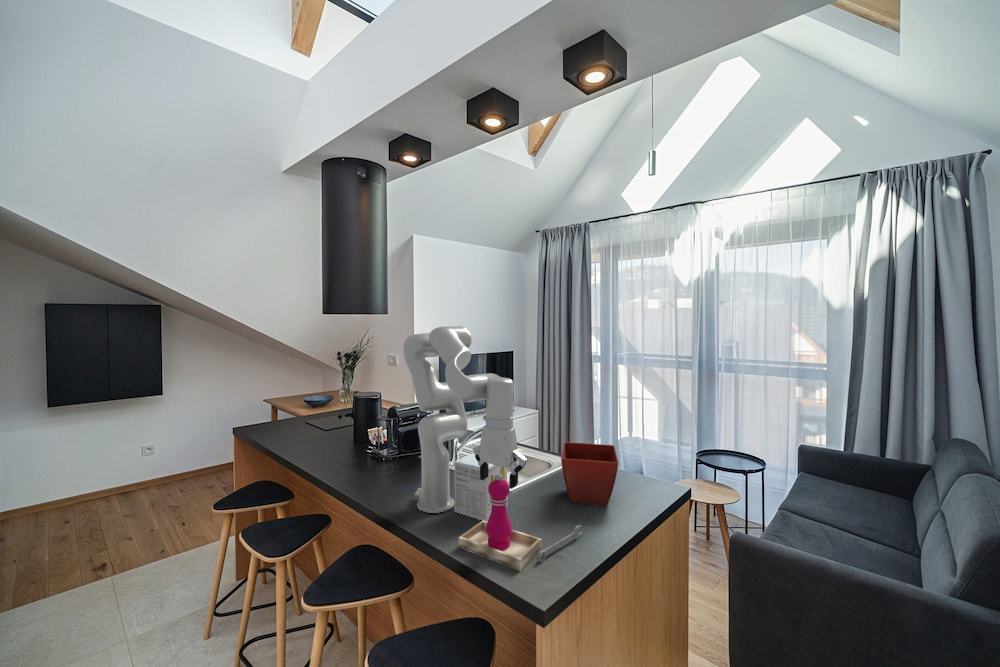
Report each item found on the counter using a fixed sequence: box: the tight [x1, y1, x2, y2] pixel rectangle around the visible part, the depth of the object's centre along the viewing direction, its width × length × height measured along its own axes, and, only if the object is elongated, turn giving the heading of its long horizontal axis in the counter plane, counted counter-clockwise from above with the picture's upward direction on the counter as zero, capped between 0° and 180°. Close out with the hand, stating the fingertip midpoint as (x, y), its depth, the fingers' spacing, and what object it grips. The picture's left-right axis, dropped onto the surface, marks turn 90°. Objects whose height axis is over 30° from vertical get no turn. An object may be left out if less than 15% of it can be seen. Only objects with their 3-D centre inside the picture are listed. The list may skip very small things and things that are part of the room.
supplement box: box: [454, 452, 508, 522], centre depth 140 cm, size 13×13×18 cm
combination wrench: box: [536, 525, 583, 563], centre depth 116 cm, size 4×1×20 cm
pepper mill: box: [486, 474, 513, 550], centre depth 116 cm, size 7×7×20 cm
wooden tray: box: [458, 520, 543, 572], centre depth 116 cm, size 20×12×3 cm, turn 57°
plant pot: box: [560, 441, 619, 507], centre depth 149 cm, size 19×19×17 cm
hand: (498, 482), depth 116 cm, fingers open, 9 cm apart
